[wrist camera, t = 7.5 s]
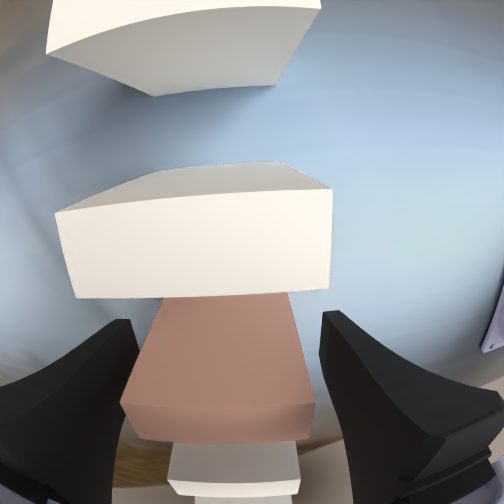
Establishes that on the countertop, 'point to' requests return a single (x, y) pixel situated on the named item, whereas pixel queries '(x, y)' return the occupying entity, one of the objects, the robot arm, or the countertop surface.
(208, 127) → the countertop surface
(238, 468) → the domino
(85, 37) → the domino
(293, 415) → the domino
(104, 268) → the domino
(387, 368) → the robot arm
